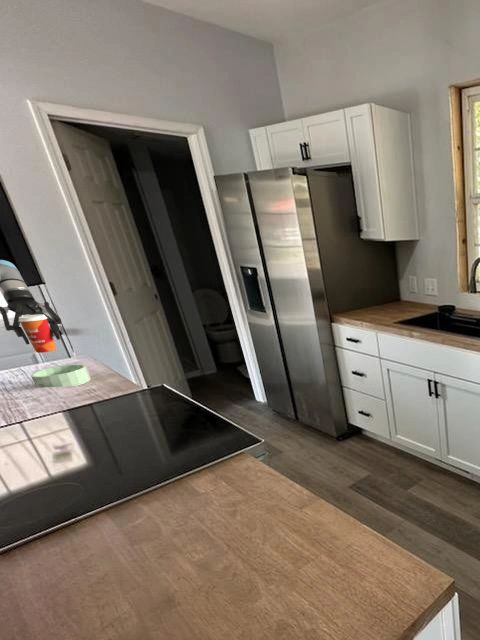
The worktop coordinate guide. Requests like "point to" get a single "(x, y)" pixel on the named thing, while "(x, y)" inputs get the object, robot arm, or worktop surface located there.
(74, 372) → the bowl
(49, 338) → the paper cup
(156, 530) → the worktop surface
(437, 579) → the worktop surface
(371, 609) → the worktop surface
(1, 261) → the robot arm
